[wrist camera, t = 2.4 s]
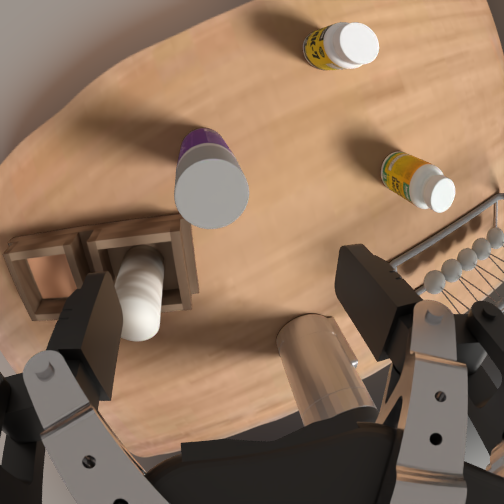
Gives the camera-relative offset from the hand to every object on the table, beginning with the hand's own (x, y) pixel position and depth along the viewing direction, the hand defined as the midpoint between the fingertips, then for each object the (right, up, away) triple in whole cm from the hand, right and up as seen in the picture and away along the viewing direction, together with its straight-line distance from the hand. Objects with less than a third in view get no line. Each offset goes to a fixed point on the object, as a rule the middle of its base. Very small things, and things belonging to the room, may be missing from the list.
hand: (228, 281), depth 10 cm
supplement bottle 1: (+8, +23, +17) cm, 29 cm away
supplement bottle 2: (+19, +12, +25) cm, 34 cm away
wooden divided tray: (-18, 0, +24) cm, 30 cm away
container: (-4, +12, +20) cm, 24 cm away
